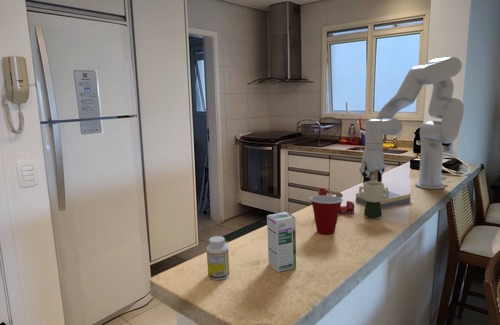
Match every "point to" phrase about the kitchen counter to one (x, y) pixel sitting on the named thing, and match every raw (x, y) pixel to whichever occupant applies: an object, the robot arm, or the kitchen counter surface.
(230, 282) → the kitchen counter surface
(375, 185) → the character mug
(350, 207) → the toy fire truck
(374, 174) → the sprinkles bottle
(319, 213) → the plastic cup
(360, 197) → the tray
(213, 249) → the supplement bottle
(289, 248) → the syrup box
